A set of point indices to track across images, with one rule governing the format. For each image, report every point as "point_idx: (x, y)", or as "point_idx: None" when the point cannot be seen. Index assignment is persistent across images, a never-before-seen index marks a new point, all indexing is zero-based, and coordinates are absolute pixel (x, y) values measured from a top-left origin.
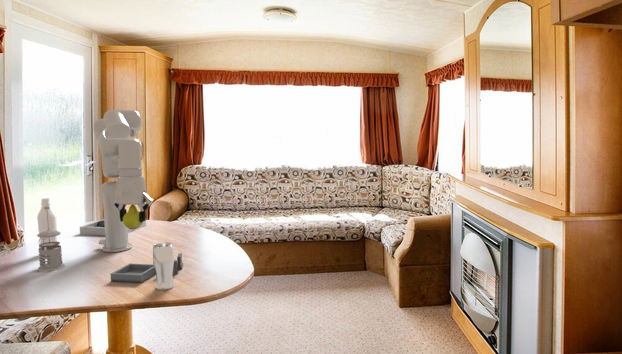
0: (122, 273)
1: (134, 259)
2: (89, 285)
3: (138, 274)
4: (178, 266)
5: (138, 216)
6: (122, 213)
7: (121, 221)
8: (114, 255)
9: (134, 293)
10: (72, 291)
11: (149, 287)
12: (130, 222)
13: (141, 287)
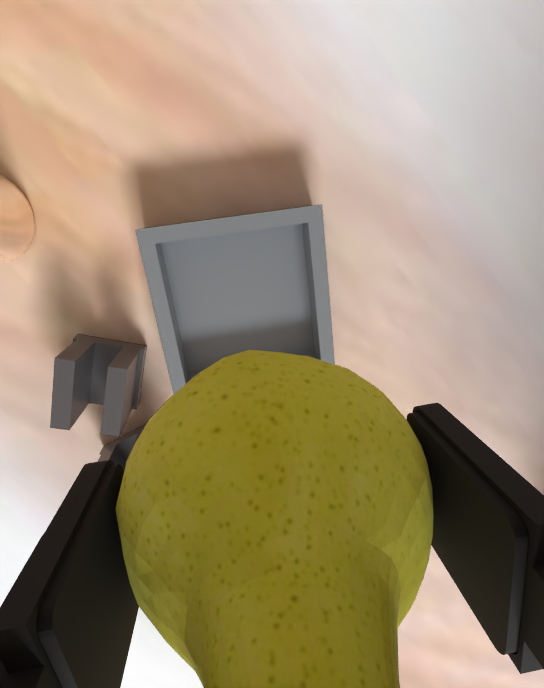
0: (260, 226)
1: None
2: (382, 129)
3: (160, 236)
4: (111, 447)
5: (123, 530)
6: (478, 502)
7: (423, 409)
8: None
9: (66, 84)
10: (408, 24)
11: (59, 188)
12: (210, 370)
13: (100, 176)
